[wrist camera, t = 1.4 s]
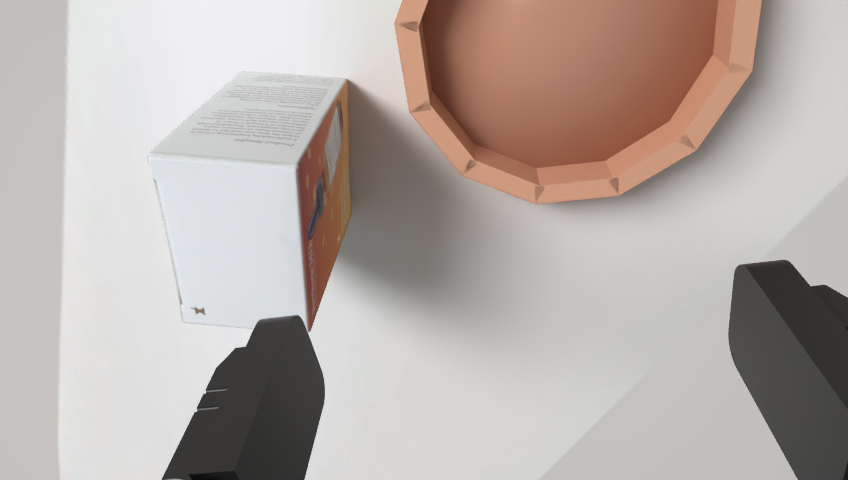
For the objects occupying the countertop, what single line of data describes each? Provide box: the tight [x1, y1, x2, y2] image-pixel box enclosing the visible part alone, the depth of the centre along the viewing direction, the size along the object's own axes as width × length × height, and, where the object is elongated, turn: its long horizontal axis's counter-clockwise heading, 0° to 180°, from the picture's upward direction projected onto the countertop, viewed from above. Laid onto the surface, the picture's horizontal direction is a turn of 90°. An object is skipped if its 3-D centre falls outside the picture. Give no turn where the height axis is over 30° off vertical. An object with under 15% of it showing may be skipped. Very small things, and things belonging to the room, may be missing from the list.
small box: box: [147, 71, 352, 332], centre depth 28 cm, size 8×6×10 cm
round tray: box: [394, 0, 762, 204], centre depth 27 cm, size 15×15×3 cm
